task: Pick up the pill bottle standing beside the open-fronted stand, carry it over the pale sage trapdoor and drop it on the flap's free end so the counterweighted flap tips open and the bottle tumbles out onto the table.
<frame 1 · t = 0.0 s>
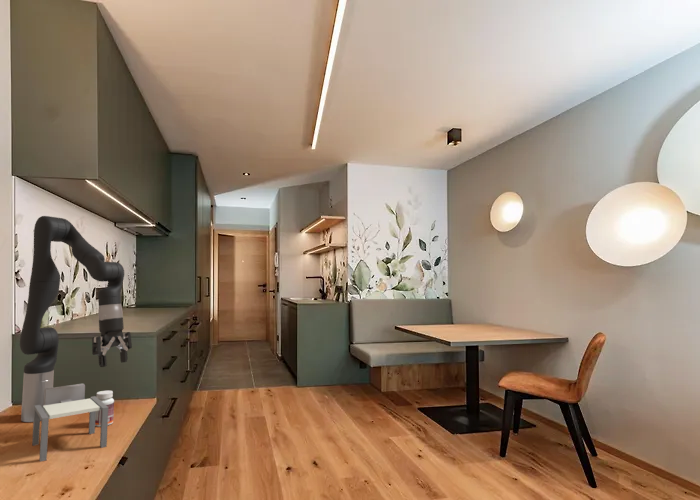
hand: (113, 364, 151), 22 cm above the table, tool pointing down, fingers open, 8 cm apart
pill bottle: (103, 424, 156), on the table
trapdoor: (69, 399, 139), point 13 cm above the table, hinge at 0.0°
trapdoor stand: (69, 445, 136), on the table
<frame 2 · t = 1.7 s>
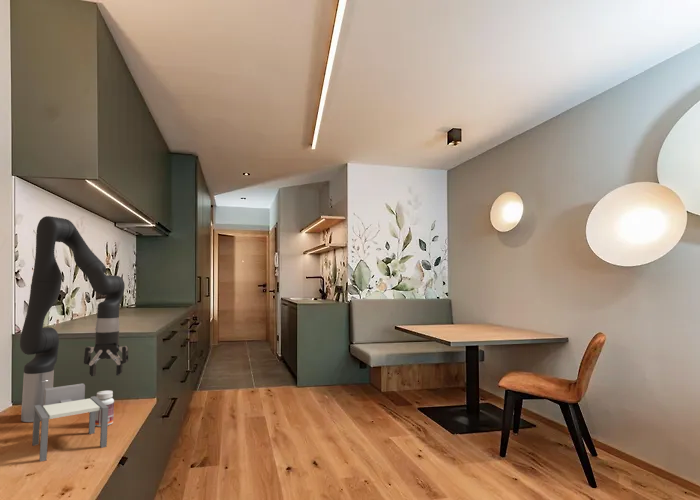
hand: (105, 375, 157), 17 cm above the table, tool pointing down, fingers open, 8 cm apart
nothing on the table moved.
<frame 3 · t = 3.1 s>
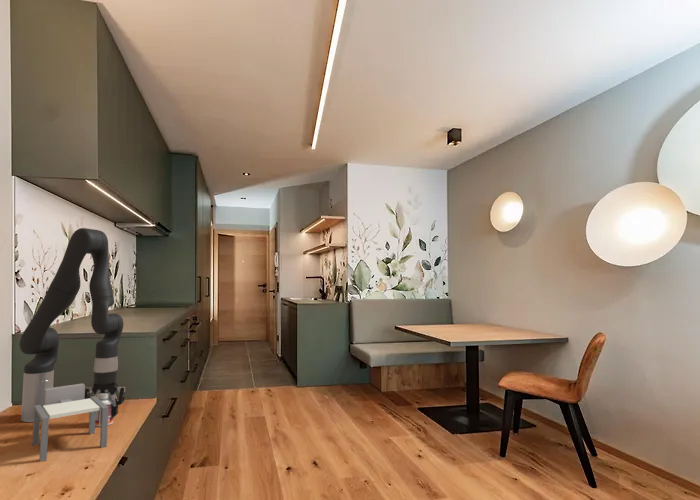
hand: (103, 416, 156), 3 cm above the table, tool pointing down, fingers closed on pill bottle, 6 cm apart
pill bottle: (103, 424, 156), on the table, touching gripper
everything else where it was.
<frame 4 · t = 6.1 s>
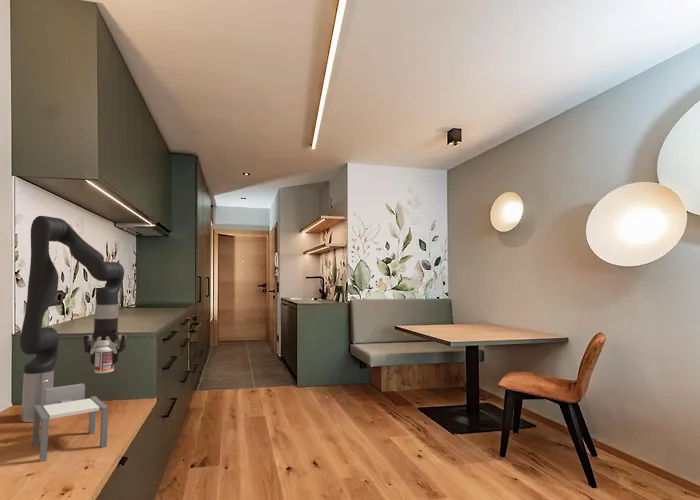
hand: (104, 364, 155), 22 cm above the table, tool pointing down, fingers closed on pill bottle, 6 cm apart
pill bottle: (104, 372, 155), point 19 cm above the table, touching gripper
everything else where it was.
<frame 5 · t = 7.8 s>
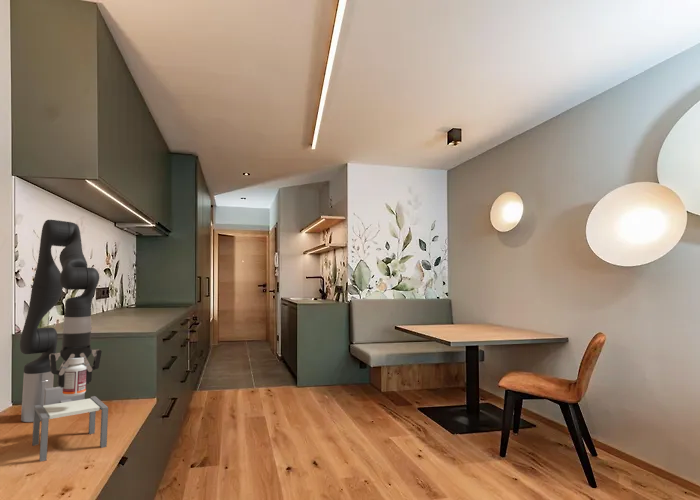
hand: (74, 385, 135), 19 cm above the table, tool pointing down, fingers closed on pill bottle, 6 cm apart
pill bottle: (74, 394, 135), point 16 cm above the table, touching gripper
everything else where it was.
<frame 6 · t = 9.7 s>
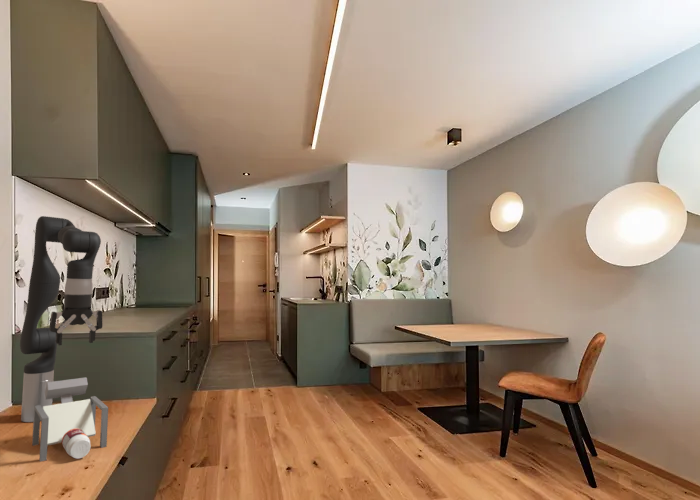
hand: (75, 343, 138), 31 cm above the table, tool pointing down, fingers open, 8 cm apart
pill bottle: (72, 438, 134), point 3 cm above the table, touching trapdoor
trapdoor: (69, 409, 138), point 11 cm above the table, hinge at -43.0°, touching pill bottle
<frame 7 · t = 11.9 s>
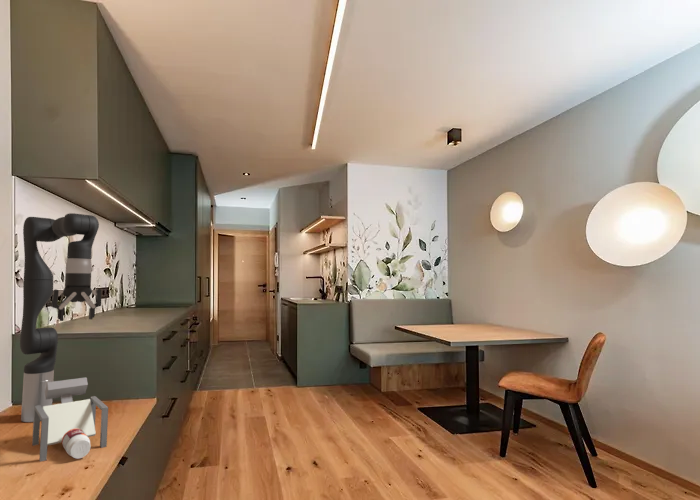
hand: (76, 320, 147), 38 cm above the table, tool pointing down, fingers open, 8 cm apart
nothing on the table moved.
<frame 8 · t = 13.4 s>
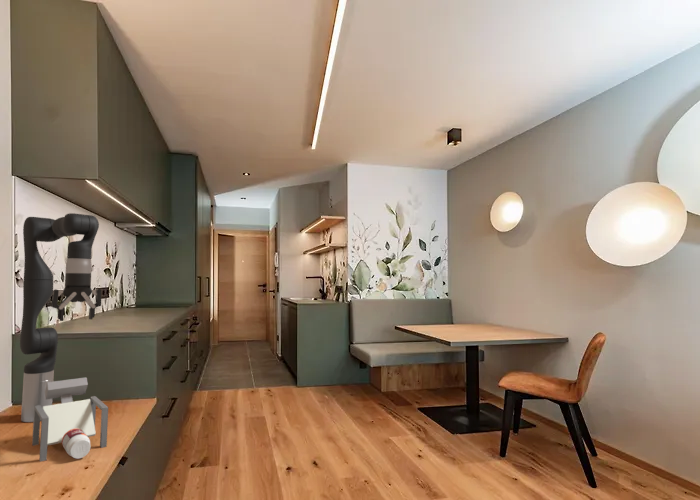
hand: (76, 320, 147), 38 cm above the table, tool pointing down, fingers open, 8 cm apart
nothing on the table moved.
at the end: pill bottle point 3.0 cm above the table; the gripper is holding nothing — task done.
